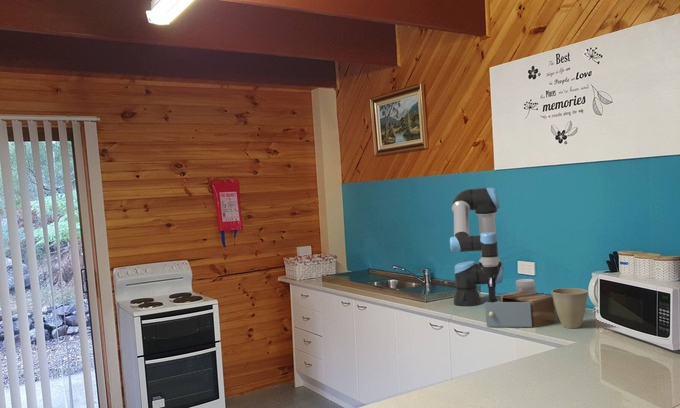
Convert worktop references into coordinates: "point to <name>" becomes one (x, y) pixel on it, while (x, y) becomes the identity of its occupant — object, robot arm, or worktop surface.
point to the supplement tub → (525, 285)
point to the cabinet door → (508, 314)
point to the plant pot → (570, 306)
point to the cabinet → (535, 306)
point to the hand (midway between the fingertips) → (493, 315)
